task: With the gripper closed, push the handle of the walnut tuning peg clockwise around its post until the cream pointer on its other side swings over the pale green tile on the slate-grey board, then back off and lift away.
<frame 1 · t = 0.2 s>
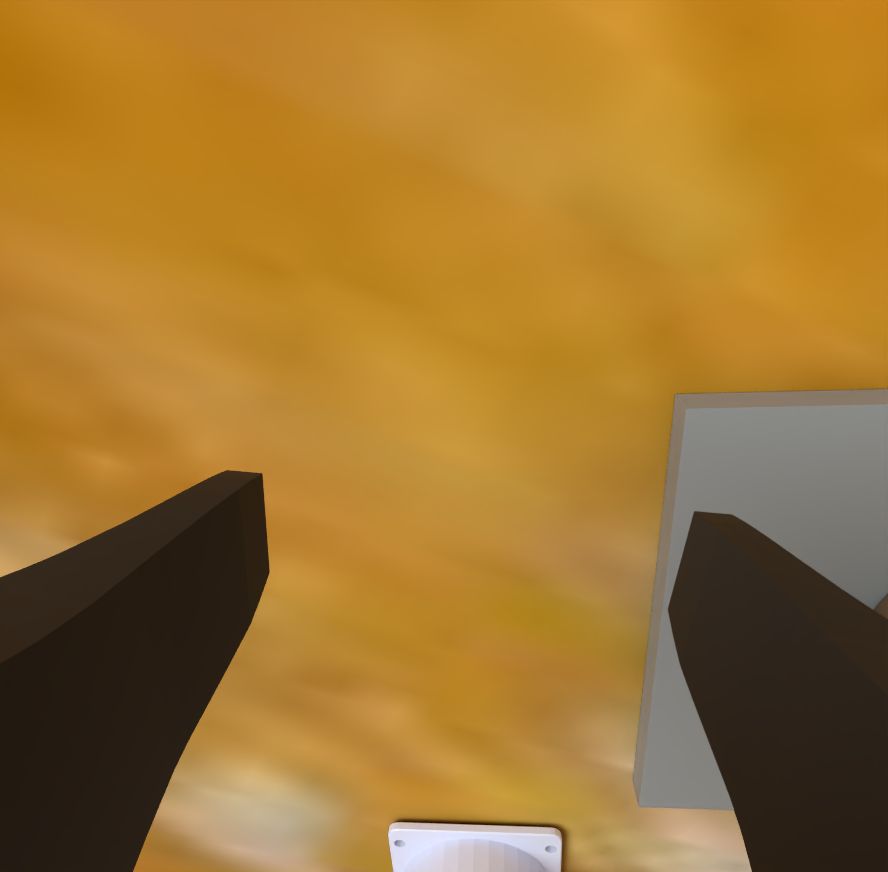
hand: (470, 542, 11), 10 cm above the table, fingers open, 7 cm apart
grey board: (876, 620, 23), on the table
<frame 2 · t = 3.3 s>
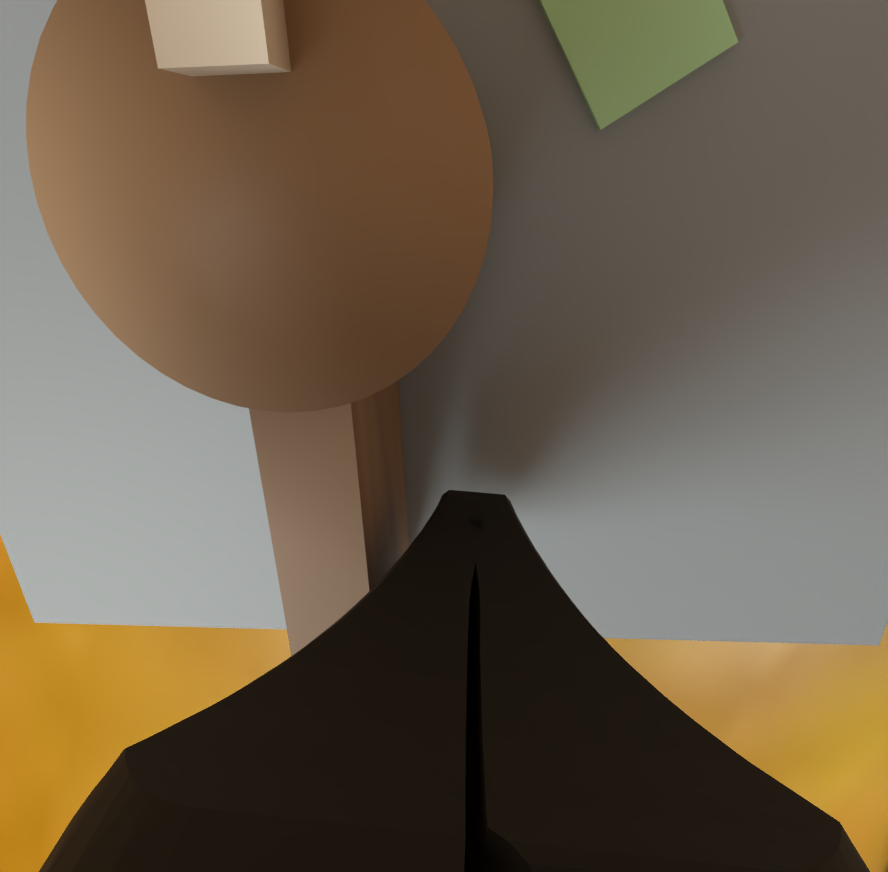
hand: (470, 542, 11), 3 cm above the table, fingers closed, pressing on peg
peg: (317, 280, 8), point 4 cm above the table, hinge at 0.0°, touching gripper
pale green tile: (606, 5, 9), resting on grey board
grey board: (424, 234, 11), on the table
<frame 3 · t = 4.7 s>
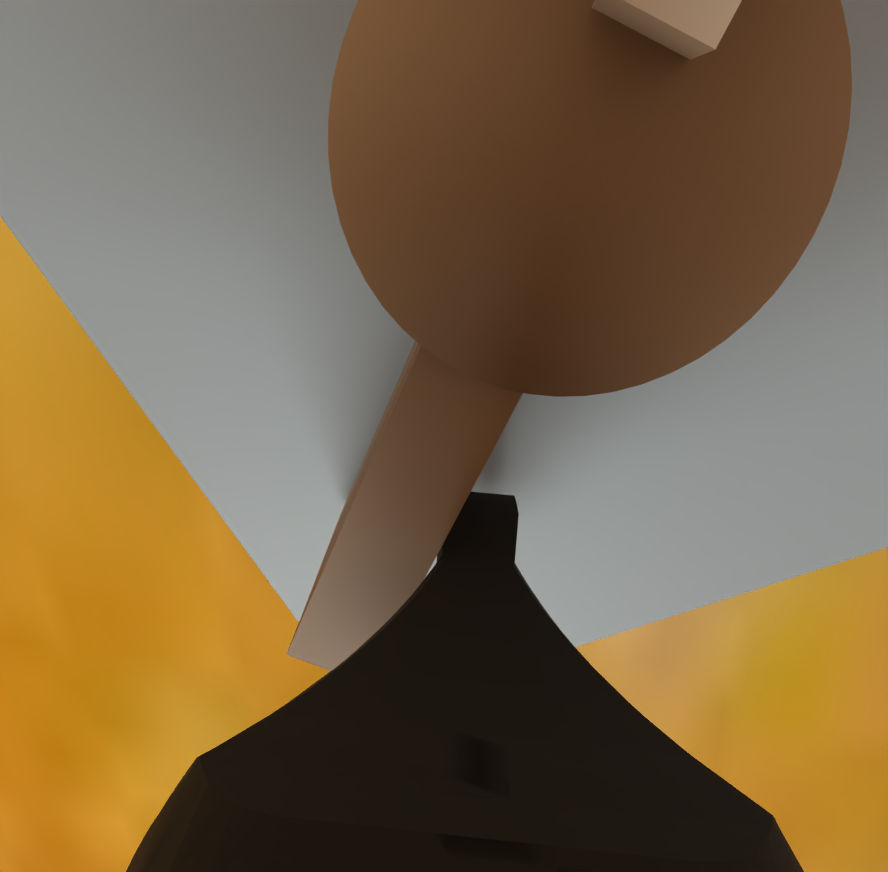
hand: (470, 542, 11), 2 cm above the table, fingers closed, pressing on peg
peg: (514, 249, 7), point 4 cm above the table, hinge at -49.9°, touching gripper
grey board: (613, 182, 10), on the table
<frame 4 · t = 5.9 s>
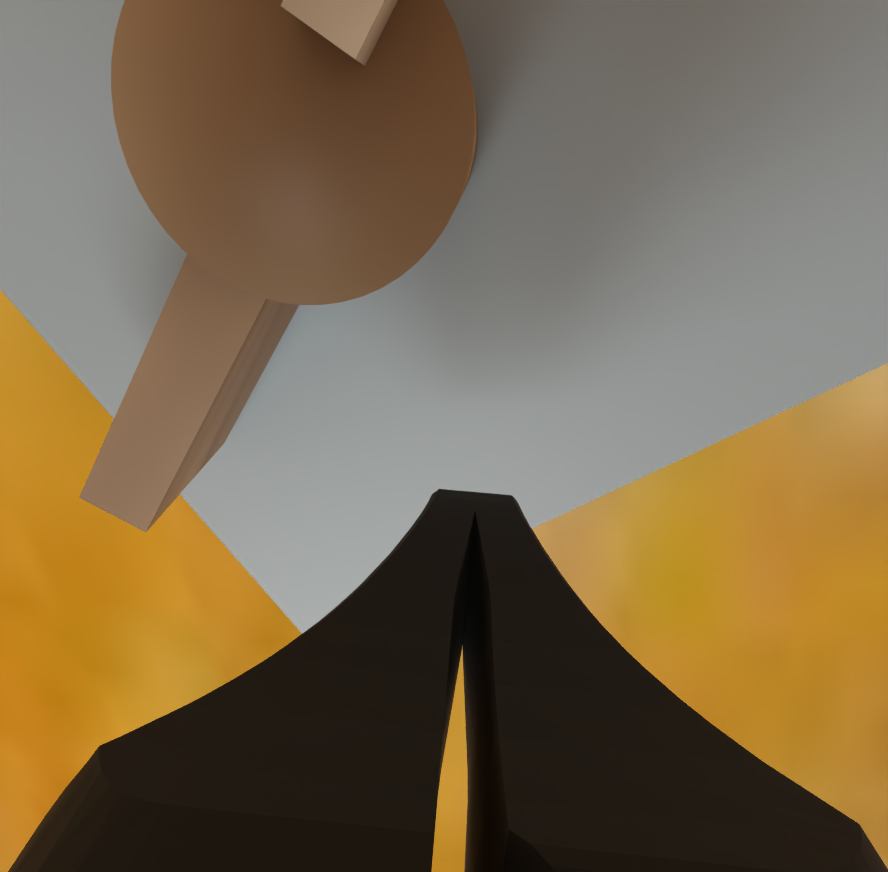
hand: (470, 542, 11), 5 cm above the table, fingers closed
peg: (291, 195, 9), point 4 cm above the table, hinge at -64.3°
grey board: (436, 151, 12), on the table
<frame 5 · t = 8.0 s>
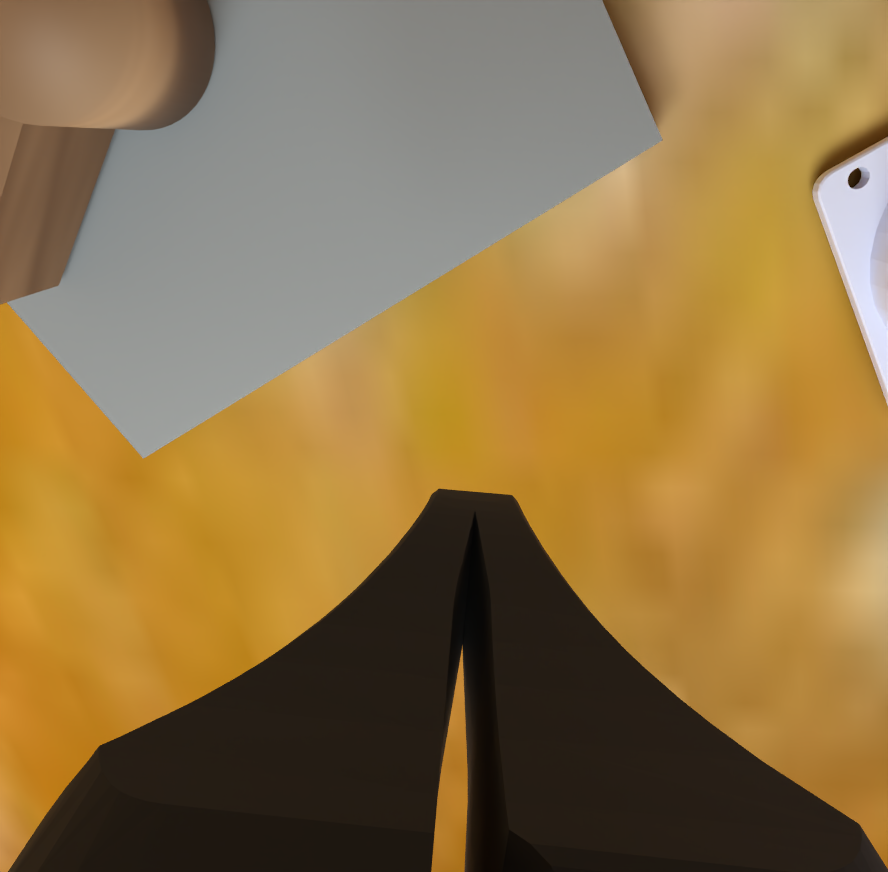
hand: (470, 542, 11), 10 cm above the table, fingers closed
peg: (52, 62, 14), point 4 cm above the table, hinge at -64.5°
grey board: (205, 52, 16), on the table
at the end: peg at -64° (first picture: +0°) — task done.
